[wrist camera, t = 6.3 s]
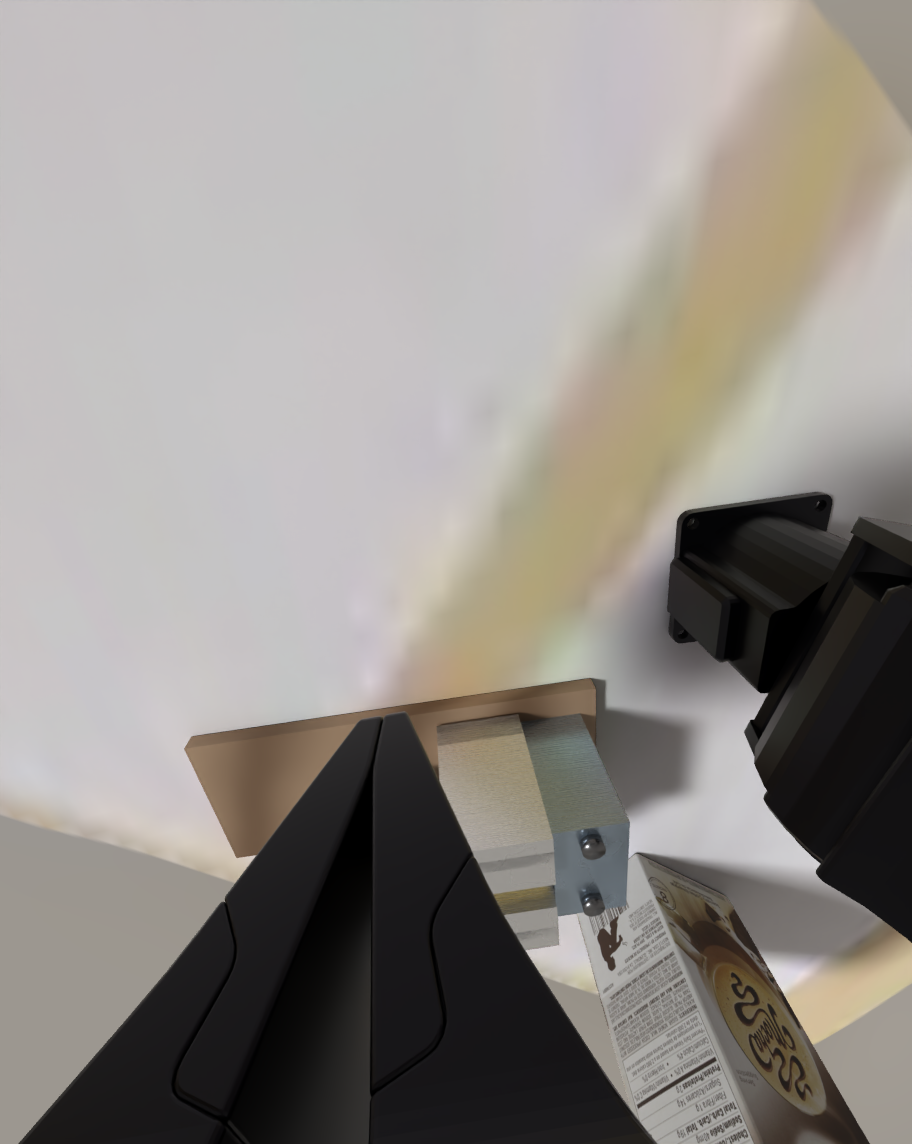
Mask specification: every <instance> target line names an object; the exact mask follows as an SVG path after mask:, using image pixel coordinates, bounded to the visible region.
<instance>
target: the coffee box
mask: <svg viewBox="0 0 912 1144" xmlns="http://www.w3.org/2000/svg"><path fill="white" fill-rule="evenodd" d="M577 916H578V920H579V924H580V927H581V930H582V934H583V938H584V941H585V945H586V948H587V952H588V956H589V959H590V963H591V967H592V970H593V974H594V978H595V982H596V985H597V988H598V992H599V995H600V1000H601V1003H602V1007H603V1010H604V1014H605V1017H606V1021H607V1025H608V1028H609V1032H610V1036H611V1040H612V1043H613V1047H614V1050H615V1054H616V1058H617V1062H618V1066H619V1069H620V1073H621V1076H622V1080H623V1084H624V1087H625V1091H626V1095H627V1098H628V1102H629V1105H630V1109H631V1110H632V1112H633V1113H634V1115H635V1116H636V1117H637V1119H638V1120H639V1121H640V1122H641V1124H642V1125H643V1126H644V1128H645V1129H646V1130H647V1131H648V1133H649V1134H650V1135H651V1136H652V1138H653V1139H654V1140H655V1141H656V1142H657V1144H870V1143H869V1142H868V1140H867V1138H866V1136H865V1135H864V1133H863V1131H862V1130H861V1128H860V1127H859V1125H858V1123H857V1121H856V1119H855V1118H854V1116H853V1114H852V1112H851V1111H850V1110H849V1107H848V1106H847V1104H846V1102H845V1101H844V1099H843V1097H842V1095H841V1094H840V1092H839V1090H838V1088H837V1087H836V1085H835V1083H834V1081H833V1080H832V1078H831V1076H830V1074H829V1073H828V1071H827V1070H826V1068H825V1066H824V1064H823V1062H822V1061H821V1059H820V1057H819V1055H818V1054H817V1052H816V1050H815V1048H814V1047H813V1045H812V1043H811V1041H810V1040H809V1038H808V1036H807V1034H806V1033H805V1031H804V1029H803V1027H802V1026H801V1024H800V1022H799V1021H798V1019H797V1017H796V1016H795V1014H794V1012H793V1010H792V1008H791V1007H790V1005H789V1003H788V1002H787V1000H786V998H785V996H784V994H783V992H782V990H781V989H780V987H779V986H778V984H777V982H776V980H775V978H774V977H773V975H772V973H771V972H770V970H769V968H768V967H767V965H766V963H765V961H764V960H763V958H762V956H761V954H760V953H759V951H758V949H757V948H756V946H755V944H754V942H753V941H752V939H751V937H750V935H749V934H748V932H747V930H746V928H745V927H744V925H743V923H742V921H741V920H740V918H739V916H738V915H737V913H736V911H735V909H734V907H733V906H732V904H731V902H730V901H729V899H728V898H727V897H726V896H724V895H722V894H720V893H718V892H716V891H714V890H712V889H710V888H707V887H705V886H703V885H701V884H699V883H697V882H695V881H693V880H691V879H689V878H687V877H685V876H683V875H681V874H679V873H676V872H674V871H672V870H670V869H668V868H666V867H664V866H662V865H660V864H658V863H656V862H654V861H652V860H650V859H648V858H646V857H643V856H641V855H639V854H634V855H633V856H632V857H631V858H629V859H628V874H627V898H626V906H622V907H616V908H609V909H605V911H604V912H603V913H602V914H600V915H598V916H593V917H590V916H587V915H585V914H584V912H583V913H577Z"/></svg>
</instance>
